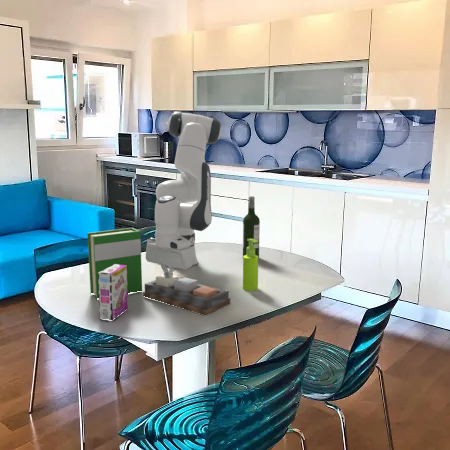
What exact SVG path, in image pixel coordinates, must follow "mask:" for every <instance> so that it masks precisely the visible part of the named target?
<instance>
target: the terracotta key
mask: <svg viewBox="0 0 450 450" xmlns="http://www.w3.org/2000/svg"><path fill="white" fill-rule="evenodd" d="M206 286H207V285H205V286H203V287H200V288H198V289H195V290H193V294H194V295H198V296H202V297H205V298H208V297H210V296H212V295H215V294H217V289H218V288H217V289H214V288H215V287H213V288H210V287H211V286H209V287H206Z"/></svg>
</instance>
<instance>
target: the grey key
mask: <svg viewBox="0 0 450 450" xmlns="http://www.w3.org/2000/svg"><path fill="white" fill-rule="evenodd" d="M197 284H198V280H197V279H194V278H189V277H182V278H179V280H176V281H174V289H175V290H179V291H183V292H186V293H187V292H190V291H192V290H195V289H197Z"/></svg>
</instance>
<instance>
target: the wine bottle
mask: <svg viewBox="0 0 450 450" xmlns="http://www.w3.org/2000/svg"><path fill="white" fill-rule="evenodd" d="M255 204H256V203H255V196H252V195H251V196H248V209H247V210H248V212H247V214H246V215H245V216H244V217H243V219H242V257H243V256H244V255H246V248H247V247H248V246H249V241H247V239H255V240H256V241H258V243H253V247H255V255H257V256H258V260H259V259H260V229H261V228H260V223H261V221H260V218H259V217H258V215H257V214H256V211H255V210H256V207H255Z"/></svg>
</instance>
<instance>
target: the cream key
mask: <svg viewBox="0 0 450 450" xmlns="http://www.w3.org/2000/svg"><path fill="white" fill-rule="evenodd" d="M179 279H180V276H179V275H176V274H173V277H171V278H170V277H165V276H164V273H163V274H161V275H158V276H155V280H156V285H160V286H164V287H167V288H168V287H171V286H174V281H176V280H179Z"/></svg>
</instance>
